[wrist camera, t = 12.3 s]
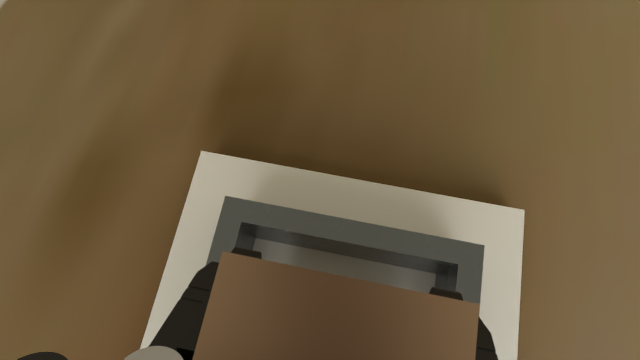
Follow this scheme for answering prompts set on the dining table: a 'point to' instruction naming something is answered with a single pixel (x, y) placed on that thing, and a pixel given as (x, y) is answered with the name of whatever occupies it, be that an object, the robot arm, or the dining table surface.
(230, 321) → the walnut block
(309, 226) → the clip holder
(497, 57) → the dining table surface
